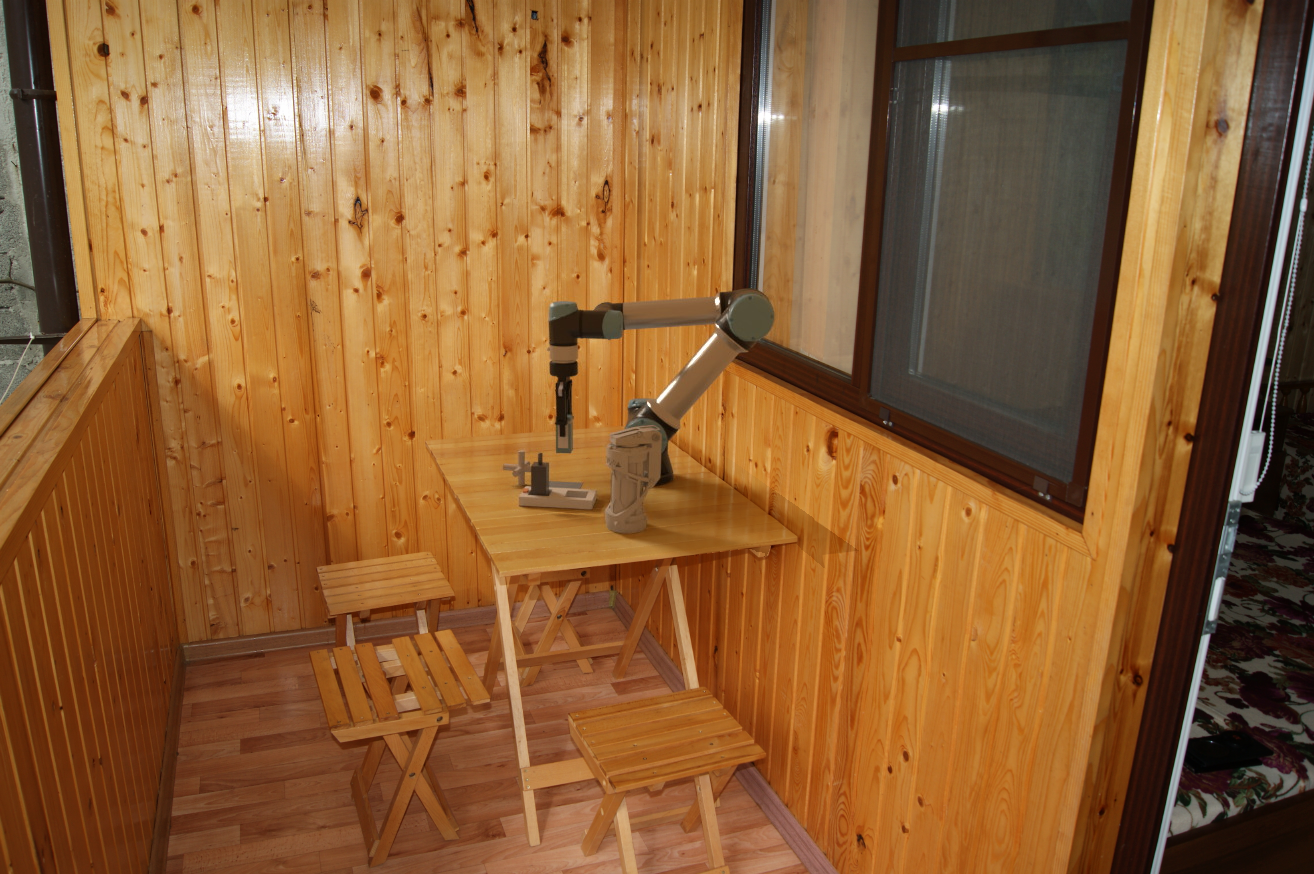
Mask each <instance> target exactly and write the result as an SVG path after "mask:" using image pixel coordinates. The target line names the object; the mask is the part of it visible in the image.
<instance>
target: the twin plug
mask: <svg viewBox="0 0 1314 874" xmlns="http://www.w3.org/2000/svg"><path fill="white" fill-rule="evenodd" d="M543 457H544V455H543V452H538V453H537V461H533V463H532V464H531V465H530V466H531V472H530V486H531V495H537V496H549V481H550V462H546V461H545V462H543Z"/></svg>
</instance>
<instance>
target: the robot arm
mask: <svg viewBox="0 0 1314 874" xmlns="http://www.w3.org/2000/svg"><path fill="white" fill-rule="evenodd" d="M774 323H775V310H774V307H773V305H772V303H771V301H770V299H769V298H768V297H767V295H766V294H765V293H764V292H762V291H761V290H759V289H755V288H741V289H736V290H728V291H719V292H717V293H716V294H715V295H713V296H702V297H701V296H699V297H684V298H673V299H671V298H670V299H657V300H642V301H641V300H640V301H627V302H625V301H624V302H615V303H613V302H610V301H606V302H601V303H599V304H597V305H595V307H594V308H593V309H592V310H591V309H579V308H578V303H577V302H575V301H570V300H569V301H568V300H559V301H558V300H557V301H553V302H551V303H550V304H549V306H548V345H549V347H547V350H546V351H548V352H549V360H550V361H549V363H548V365H549V375H550V376H552V377H557V381H556V382H555V389H554V392H555V412H556V415H555V421H556V422H554V425H555V426H556V425H558V448H568V424H567V423H568V422H567V414H573V409H572V408H573V396H572V395H573V393H572V392H573V387H572V386H573V379H571V377H575V376H577V375H578V373H579V362H578V361H577V360H578V359H579V342H578V341H579V340H578V339H581V340H582V339H589V340H590V339H592V340H595V339H596V340H608V341H611V340H620V339H621V338H622V337H623V334H624V331H625V330H626V331H628V330H629V331H631V330H647V329H658V328H659V329H660V328H674V327H675V328H676V327H677V328H679V327H691V326H704V325H705V326H708V325H714V331H713V333H712V334H711V335H710V336H709V337H708V338H707V339H706V340H705V342H704V343H703V344H702V345H700V347H699V348H698V350H697V351H696V352H695V353H694V355H693V356H692V357H691V358H690V359H689V360H688V362H687V363H686V364H685V365H684V366H683V367H682V368H681V369H680V371H679V372H677V374H676V375H675V376H674V377H673V378H672V379H671V381H670V382H669V383H668V385H667V386H665V388H664V389H663V390H662V391H661V392H660V393H659V394H658V396H657V397H656V398H646V397H645V398H643V397H642V398H640V397H639V398H631V399H630V400H628V403H627V406H628V407H627V409H626V411H627V421H626V424H625V427H624V429H623V430H625V429H628V428H632V427H638V426H648V425H655V426H656V427H658V428H659V429H660V430H657V431H659V432H660V433H661V434H662V444H661V473H660V479H659V480H658V481H657V483H656V484H655V485H654V486H661V485H665V484H668V483H671V482H672V481H673V479H674V469H673V466H672V462H671V458H670V455H669V441H671V439H672V438H673V437H674V436H675V435H676V434H677V432H679V430H681V420H682V418H683V417H684V416H685V415H686V414H687V413H688V412H689V410H690V409H691V408H692V407H693V406H694V405H695V404H696V403H697V401H698V400H699V399H700V398H701V397H702V395H703V394H704V393H705V392H706V391H707V390H708V389H709V388H710V387H711V385H712V384H713V383H714V382H715V381H716V380H717V378H718V377H720V376H721V375H722V373H723V372H725V370H726V368H727V367H729V366H730V364H731V363H732V362H733V361H734V360H735V359H736V357H737V356H738V355H739V354H740V353H748V352H749V351H750V350H751V349H752V348H753V347H754V346H755V345H756V344H757V342H758V341H760V340H761V339H763V338H765V337H766V336H767V335H768V334H769V333H770V331H771V330H772V328H773V326H774ZM574 416H575V415H573V420H574V419H575V418H574ZM655 426H651V427H653V428H655V429H658V428H656V427H655Z"/></svg>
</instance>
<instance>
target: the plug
mask: <svg viewBox="0 0 1314 874" xmlns="http://www.w3.org/2000/svg"><path fill="white" fill-rule="evenodd" d="M573 416H574V415H573V413H572V414H567V422H568V423H567V424H568V448H558V425H555V452H556V454H572V452H573V451H574V431H573V430H574V419H573ZM555 422H556V420H555ZM555 422H554V423H555Z"/></svg>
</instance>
